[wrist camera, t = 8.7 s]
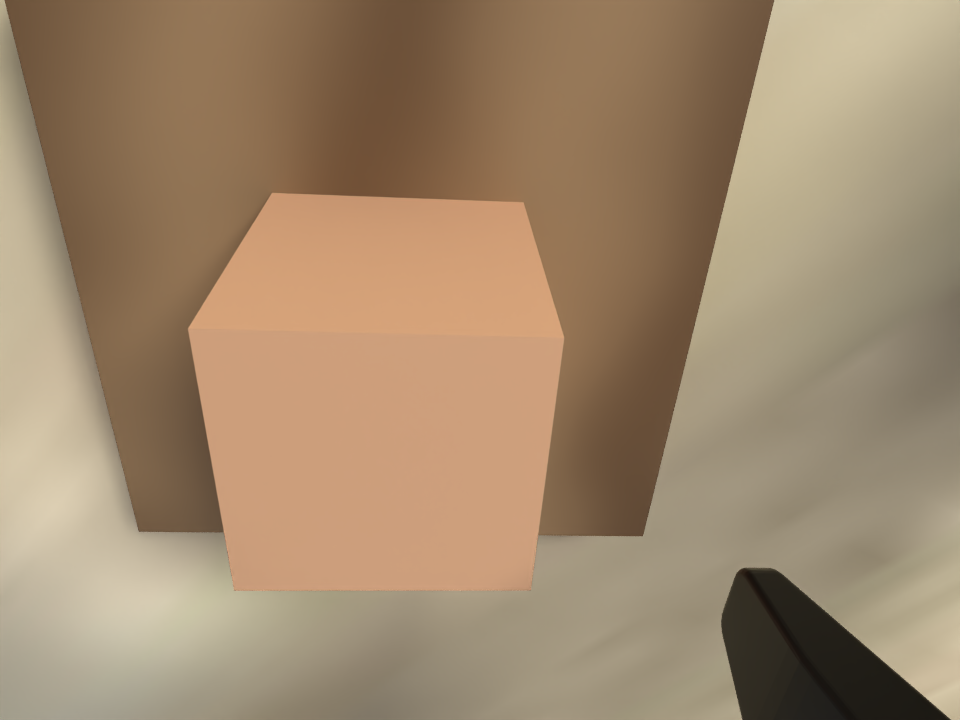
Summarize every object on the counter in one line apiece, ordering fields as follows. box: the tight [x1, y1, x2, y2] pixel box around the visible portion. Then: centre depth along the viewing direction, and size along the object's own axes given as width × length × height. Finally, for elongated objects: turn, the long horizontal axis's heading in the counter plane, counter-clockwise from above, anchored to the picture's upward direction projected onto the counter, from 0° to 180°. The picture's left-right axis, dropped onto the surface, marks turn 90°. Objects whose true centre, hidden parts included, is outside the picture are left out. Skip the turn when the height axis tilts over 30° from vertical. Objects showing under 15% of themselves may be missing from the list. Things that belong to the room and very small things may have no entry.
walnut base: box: [5, 0, 774, 536], centre depth 15 cm, size 12×12×2 cm
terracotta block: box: [188, 193, 564, 591], centre depth 12 cm, size 4×4×5 cm
